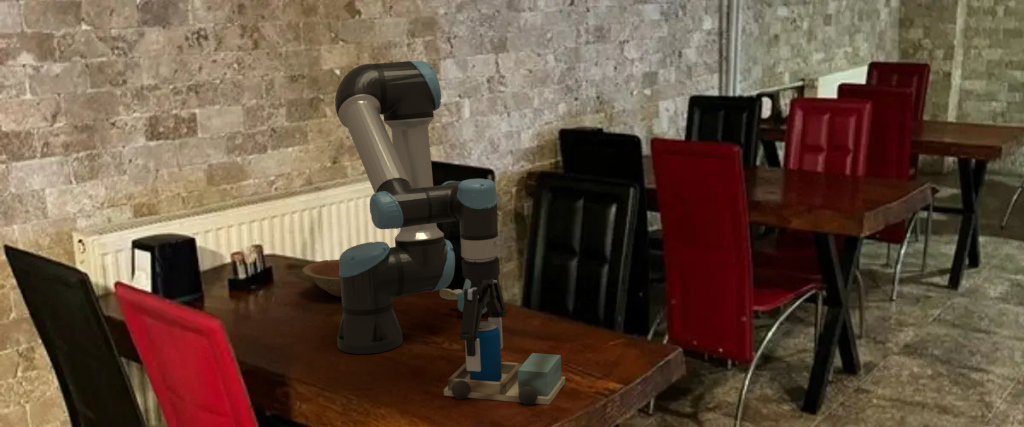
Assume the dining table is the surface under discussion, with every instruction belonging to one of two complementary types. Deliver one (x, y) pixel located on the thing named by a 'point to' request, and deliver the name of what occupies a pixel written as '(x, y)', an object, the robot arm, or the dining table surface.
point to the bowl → (325, 275)
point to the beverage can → (488, 353)
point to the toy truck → (513, 381)
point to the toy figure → (457, 295)
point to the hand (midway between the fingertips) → (485, 358)
